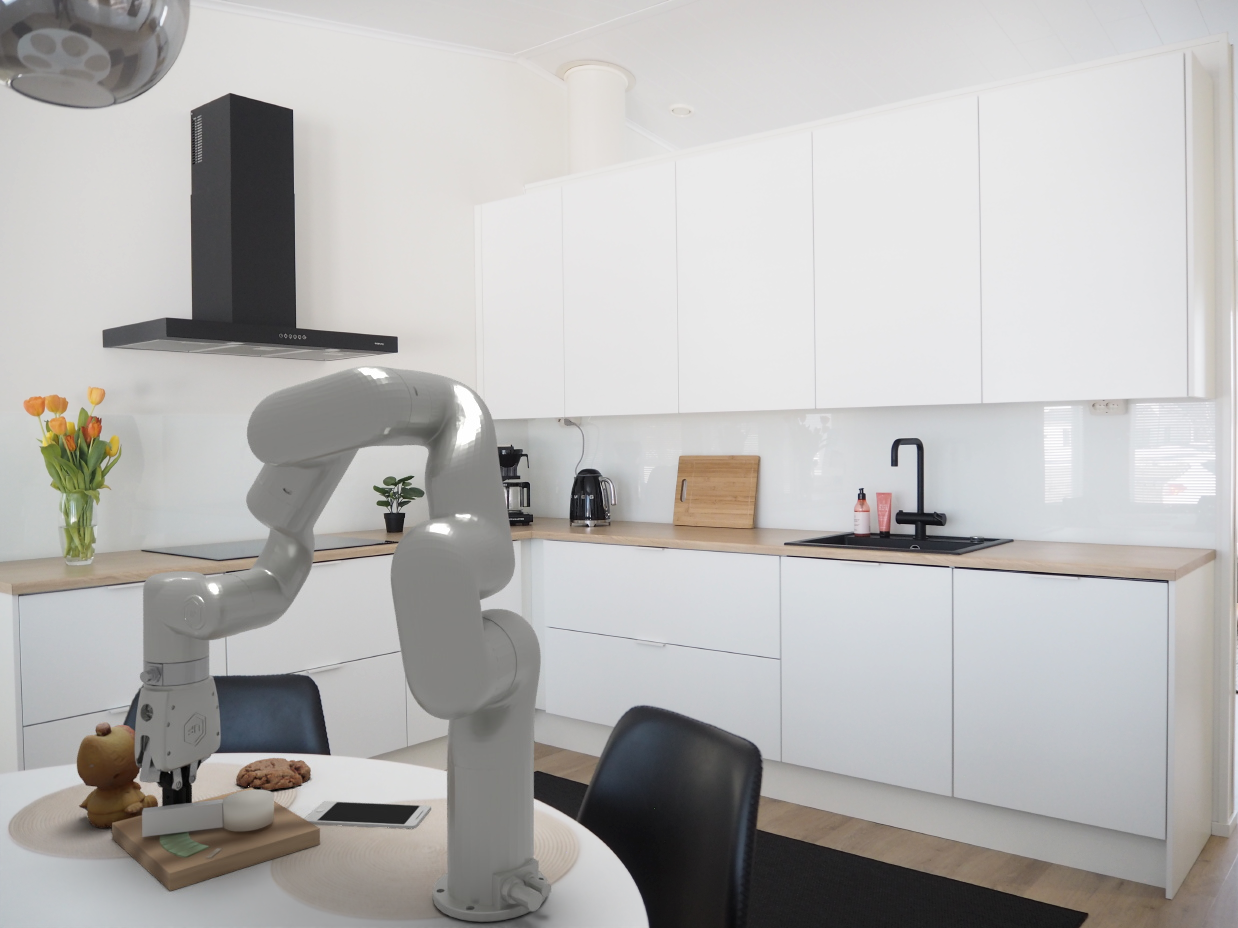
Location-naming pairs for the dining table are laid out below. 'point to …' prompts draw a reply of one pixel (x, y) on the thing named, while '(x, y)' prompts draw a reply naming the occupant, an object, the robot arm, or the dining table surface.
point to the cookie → (274, 774)
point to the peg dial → (212, 814)
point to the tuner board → (213, 846)
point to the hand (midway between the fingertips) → (177, 816)
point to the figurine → (111, 776)
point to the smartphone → (368, 814)
